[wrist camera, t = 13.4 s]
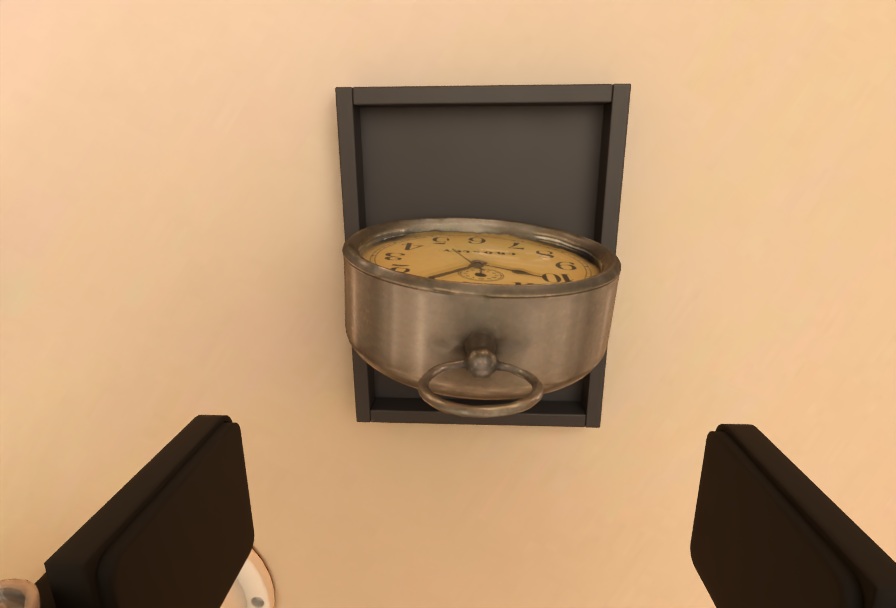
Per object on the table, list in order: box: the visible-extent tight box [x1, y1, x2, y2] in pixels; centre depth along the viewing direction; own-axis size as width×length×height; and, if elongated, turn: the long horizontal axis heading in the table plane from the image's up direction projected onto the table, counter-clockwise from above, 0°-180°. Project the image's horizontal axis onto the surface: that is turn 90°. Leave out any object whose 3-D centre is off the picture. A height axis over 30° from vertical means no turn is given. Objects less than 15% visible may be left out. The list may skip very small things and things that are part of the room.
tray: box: [335, 84, 631, 428], centre depth 27 cm, size 14×18×2 cm
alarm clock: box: [342, 217, 621, 418], centre depth 20 cm, size 11×5×16 cm, turn 87°
